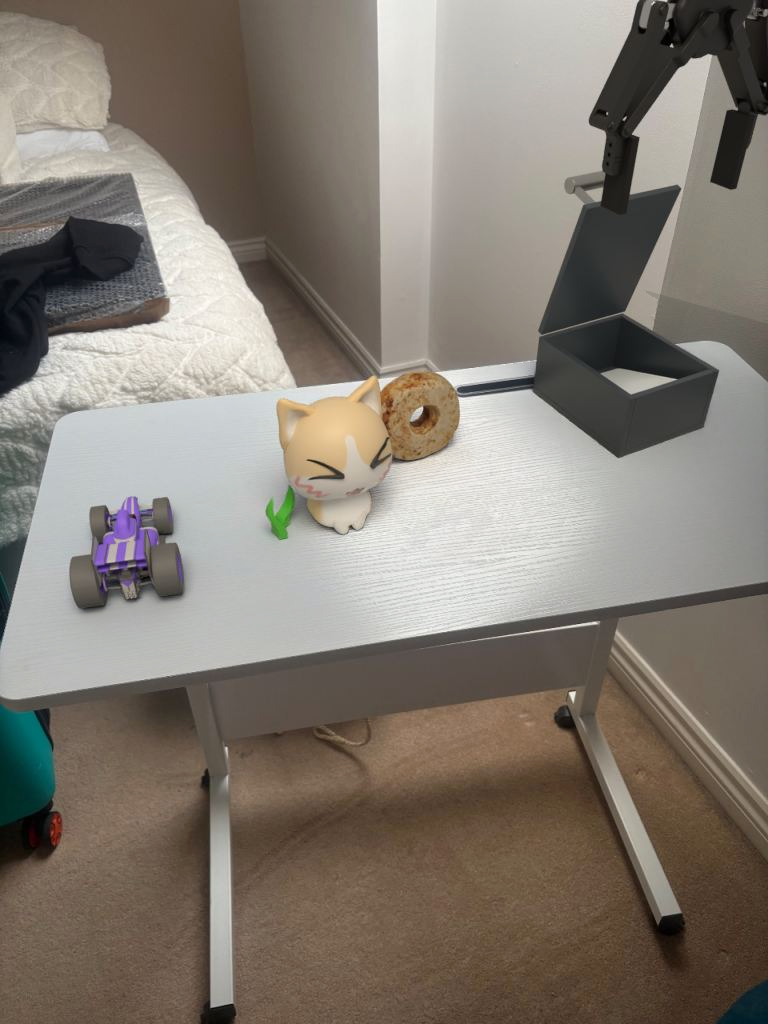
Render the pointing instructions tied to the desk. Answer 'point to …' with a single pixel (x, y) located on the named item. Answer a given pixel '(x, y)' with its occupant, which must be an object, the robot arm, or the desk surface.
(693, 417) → the black box
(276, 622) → the desk surface
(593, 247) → the box lid
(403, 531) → the desk surface
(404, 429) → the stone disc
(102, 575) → the toy race car
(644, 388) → the hard drive
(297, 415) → the kitten
